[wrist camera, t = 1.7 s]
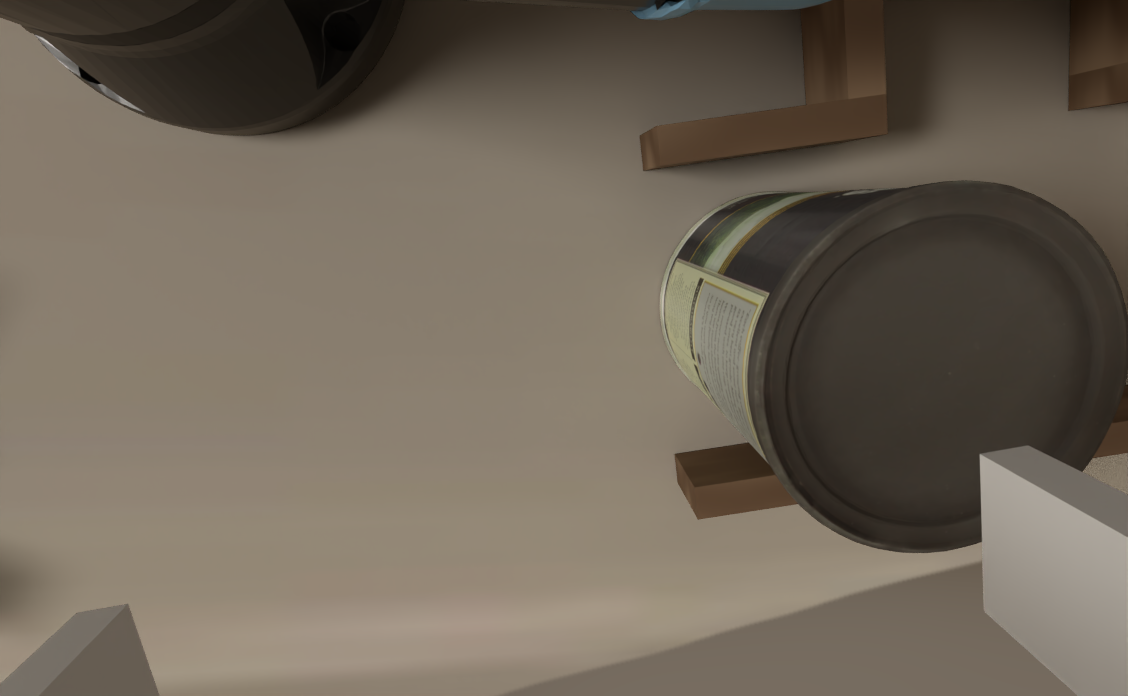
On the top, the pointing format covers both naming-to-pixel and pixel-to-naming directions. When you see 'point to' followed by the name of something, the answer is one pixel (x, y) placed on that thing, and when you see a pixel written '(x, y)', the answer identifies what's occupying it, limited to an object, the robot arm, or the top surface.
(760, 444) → the coffee can
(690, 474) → the wooden compartment tray
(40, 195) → the top surface
